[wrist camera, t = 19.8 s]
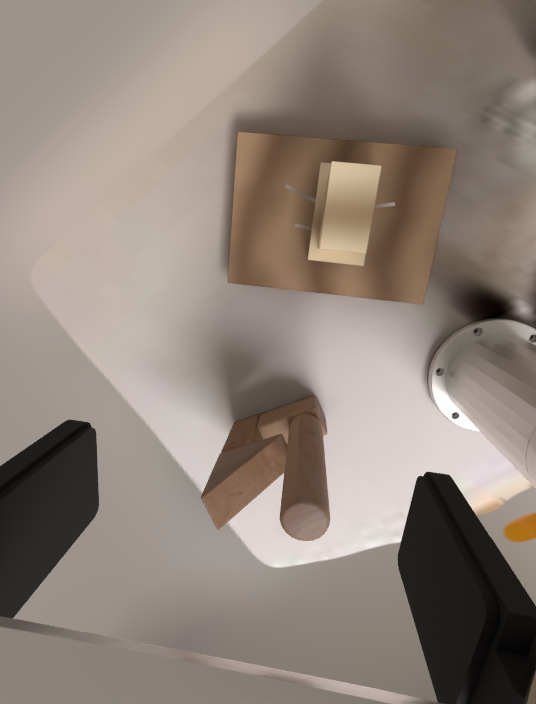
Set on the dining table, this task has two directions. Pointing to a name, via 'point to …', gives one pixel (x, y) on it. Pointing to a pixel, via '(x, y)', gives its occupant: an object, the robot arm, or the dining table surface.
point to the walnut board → (298, 210)
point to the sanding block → (343, 212)
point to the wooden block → (275, 468)
